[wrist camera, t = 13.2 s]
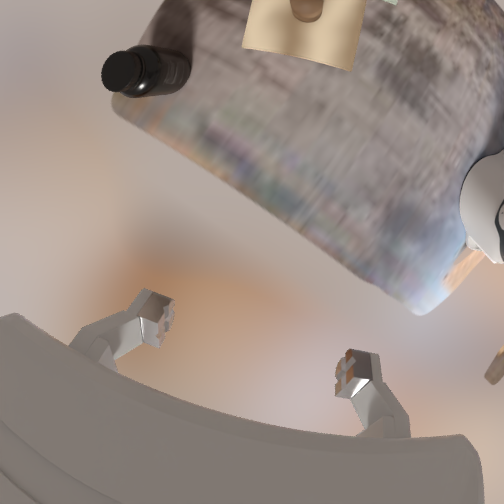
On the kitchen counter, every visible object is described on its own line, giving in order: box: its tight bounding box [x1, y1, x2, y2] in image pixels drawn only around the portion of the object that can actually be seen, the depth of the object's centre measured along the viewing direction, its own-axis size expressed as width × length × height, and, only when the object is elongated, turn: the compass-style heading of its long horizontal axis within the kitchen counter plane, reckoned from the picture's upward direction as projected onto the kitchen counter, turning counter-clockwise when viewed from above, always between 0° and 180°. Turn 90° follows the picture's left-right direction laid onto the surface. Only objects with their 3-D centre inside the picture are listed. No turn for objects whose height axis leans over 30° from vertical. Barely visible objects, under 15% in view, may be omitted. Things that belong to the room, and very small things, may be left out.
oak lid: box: [242, 0, 366, 72], centre depth 19 cm, size 12×12×5 cm
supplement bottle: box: [101, 45, 190, 98], centre depth 26 cm, size 7×7×12 cm
